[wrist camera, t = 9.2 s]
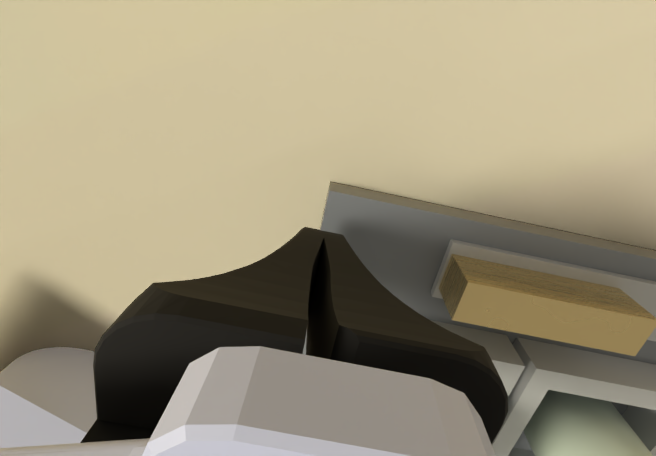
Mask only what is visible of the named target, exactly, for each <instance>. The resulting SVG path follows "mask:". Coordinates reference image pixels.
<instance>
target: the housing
mask: <svg viewBox="0 0 656 456" xmlns="http://www.w3.org/2000/svg"><path fill="white" fill-rule="evenodd" d="M320 230H322V231H327V232H332V233H337V234H342V235H343V236H344V237H345V239H346V240H347V242H348V243H349V245H350V246H351V248H352V249H353V251H354V252H355V254H356V255H357V256H358V258H359V259H360V260H361V262H362V263H363V264H364V266H365V267H366V268H367V269H368V270H369V271H370V272H371V274H372V275H373V276H374V277H375V278H376V279H377V280H378V281H379V282H380V283H381V284H382V285H383V286H384V287H385V288H386V289H388V290H389V291H390V292H391V293H392V294H393V295H394V296H396V297H397V298H398V299H399V300H401V301H402V302H403V303H405V304H406V305H408V306H409V307H410V308H412V309H413V310H415V311H416V312H417V313H419V314H421V315H422V316H424V317H425V318H427V319H429V320H430V321H432V322H434V323H436V324H438V325H439V326H441V327H443V328H445V329H447V330H448V331H450V332H453V333H455V334H457V335H459V336H461V337H464V338H466V339H468V340H470V341H472V342H474V343H477V344H479V345H481V346H483V347H485V349H486V351H487V352H488V354H489V356H490V358H491V360H492V362H493V364H494V366H495V368H496V370H497V372H498V374H499V376H500V378H501V380H502V382H503V384H504V387H505V390H506V392H507V395H508V413H507V415H506V418H505V421H504V423H503V425H502V427H501V429H500V431H499V432H498V434H497V436H496V438H495V439H494V441H493V443H492V447H493V450H494V453H495V455H496V456H535V455H534V453H533V451H532V449H531V446H530V444H529V442H528V440H527V438H526V436H525V434H524V432H523V430H524V429H525V427H526V425H527V424H528V422H529V421H530V419H531V417H532V416H533V414H534V412H535V411H536V409H537V407H538V406H539V404H540V403H541V401H542V399H543V398H544V396H545V394H546V393H547V391H548V390H553V391H558V392H564V393H569V394H574V395H579V396H585V397H590V398H595V399H600V400H605V401H610V402H611V403H612V404H613V405H614V407H615V408H616V409H617V410H618V412H619V413H620V414H621V415H622V417H623V418H624V419H625V420H626V422H627V423H628V424H629V426H630V427H631V428H632V429H633V431H634V432H635V433H636V434H637V436H638V437H639V438H640V439H641V441H642V442H643V443H644V445H645V446H646V447H647V448H648V450H649V451H650V452H651V453H652V455H653V456H656V328H655V329H654V330H653V332H652V333H651V335H650V336H649V337H648V339H647V340H646V342H645V343H644V345H643V346H642V347H641V349H640V350H639V352H638V353H637V354H636V356H631V355H626V354H621V353H616V352H611V351H606V350H601V349H596V348H590V347H585V346H580V345H575V344H570V343H565V342H560V341H555V340H550V339H545V338H540V337H535V336H530V335H525V334H520V333H515V332H510V331H505V330H499V329H494V328H489V327H484V326H479V325H474V324H469V323H464V322H459V321H454V320H452V319H451V317H450V314H449V312H448V309H447V307H446V305H445V302H444V300H443V297H442V295H441V293H440V290H439V286H440V283H441V280H442V278H443V275H444V273H445V270H446V268H447V265H448V262H449V260H450V257H451V255H452V254H455V255H460V256H465V257H470V258H475V259H480V260H484V261H489V262H494V263H499V264H504V265H509V266H514V267H518V268H523V269H528V270H533V271H538V272H543V273H548V274H553V275H557V276H562V277H567V278H572V279H577V280H582V281H587V282H591V283H596V284H601V285H606V286H611V287H616V288H620V289H621V290H622V291H623V292H625V293H626V294H627V295H628V296H630V297H631V298H632V299H633V300H635V301H636V302H637V303H638V304H639V305H641V306H642V307H643V308H644V309H646V310H647V311H648V312H649V313H651V314H652V315H653V316H654V317H655V318H656V250H651V249H646V248H641V247H637V246H632V245H627V244H622V243H618V242H613V241H608V240H603V239H599V238H594V237H589V236H585V235H580V234H575V233H570V232H566V231H561V230H556V229H551V228H547V227H542V226H537V225H533V224H528V223H523V222H518V221H514V220H509V219H504V218H499V217H495V216H490V215H485V214H481V213H476V212H471V211H466V210H462V209H457V208H452V207H447V206H443V205H438V204H433V203H428V202H424V201H419V200H414V199H410V198H405V197H400V196H395V195H391V194H386V193H381V192H376V191H372V190H367V189H362V188H358V187H353V186H348V185H343V184H339V183H334V182H330V186H329V190H328V195H327V199H326V204H325V209H324V213H323V218H322V223H321V227H320ZM306 338H307V331H306ZM306 338H305V344H304V349H303V353H302V354H304V355H306Z"/></svg>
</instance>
